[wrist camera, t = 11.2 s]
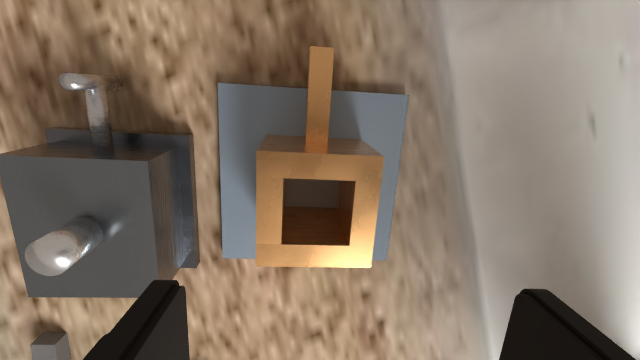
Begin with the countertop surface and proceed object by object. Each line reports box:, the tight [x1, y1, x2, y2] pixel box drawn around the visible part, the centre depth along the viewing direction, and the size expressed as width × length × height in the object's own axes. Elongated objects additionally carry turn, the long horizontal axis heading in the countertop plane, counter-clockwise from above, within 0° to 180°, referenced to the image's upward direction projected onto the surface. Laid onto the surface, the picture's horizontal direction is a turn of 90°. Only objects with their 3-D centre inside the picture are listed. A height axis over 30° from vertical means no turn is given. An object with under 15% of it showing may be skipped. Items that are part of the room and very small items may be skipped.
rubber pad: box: [218, 83, 409, 261], centre depth 21 cm, size 12×12×1 cm
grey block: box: [0, 73, 200, 298], centre depth 17 cm, size 8×13×8 cm, turn 176°
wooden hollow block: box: [256, 46, 384, 268], centre depth 18 cm, size 6×11×6 cm, turn 176°
